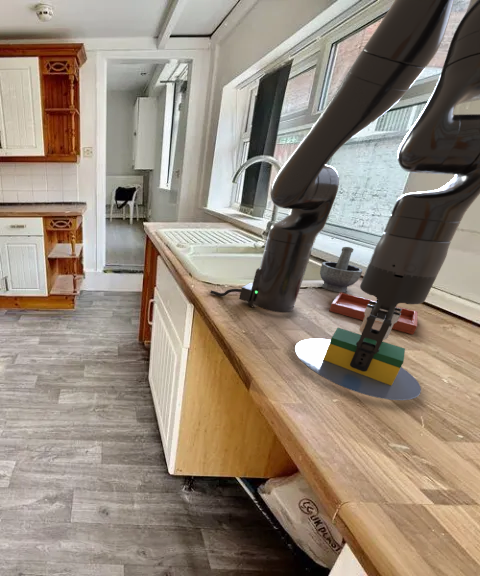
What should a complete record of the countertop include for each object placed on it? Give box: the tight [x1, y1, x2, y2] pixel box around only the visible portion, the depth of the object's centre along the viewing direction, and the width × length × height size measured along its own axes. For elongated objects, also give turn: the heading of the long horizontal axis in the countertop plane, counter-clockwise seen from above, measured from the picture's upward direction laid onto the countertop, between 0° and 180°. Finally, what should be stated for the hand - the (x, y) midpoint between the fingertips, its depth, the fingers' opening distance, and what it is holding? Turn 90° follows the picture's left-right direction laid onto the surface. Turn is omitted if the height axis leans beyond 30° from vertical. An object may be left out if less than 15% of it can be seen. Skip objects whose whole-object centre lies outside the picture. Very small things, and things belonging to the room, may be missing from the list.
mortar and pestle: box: [319, 246, 363, 293], centre depth 90 cm, size 11×9×12 cm
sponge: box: [323, 327, 406, 385], centre depth 51 cm, size 9×6×4 cm, turn 44°
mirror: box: [294, 338, 422, 401], centre depth 53 cm, size 17×17×1 cm
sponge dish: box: [328, 292, 419, 335], centre depth 74 cm, size 15×11×2 cm
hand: (360, 361), depth 52 cm, fingers closed on sponge, 5 cm apart
